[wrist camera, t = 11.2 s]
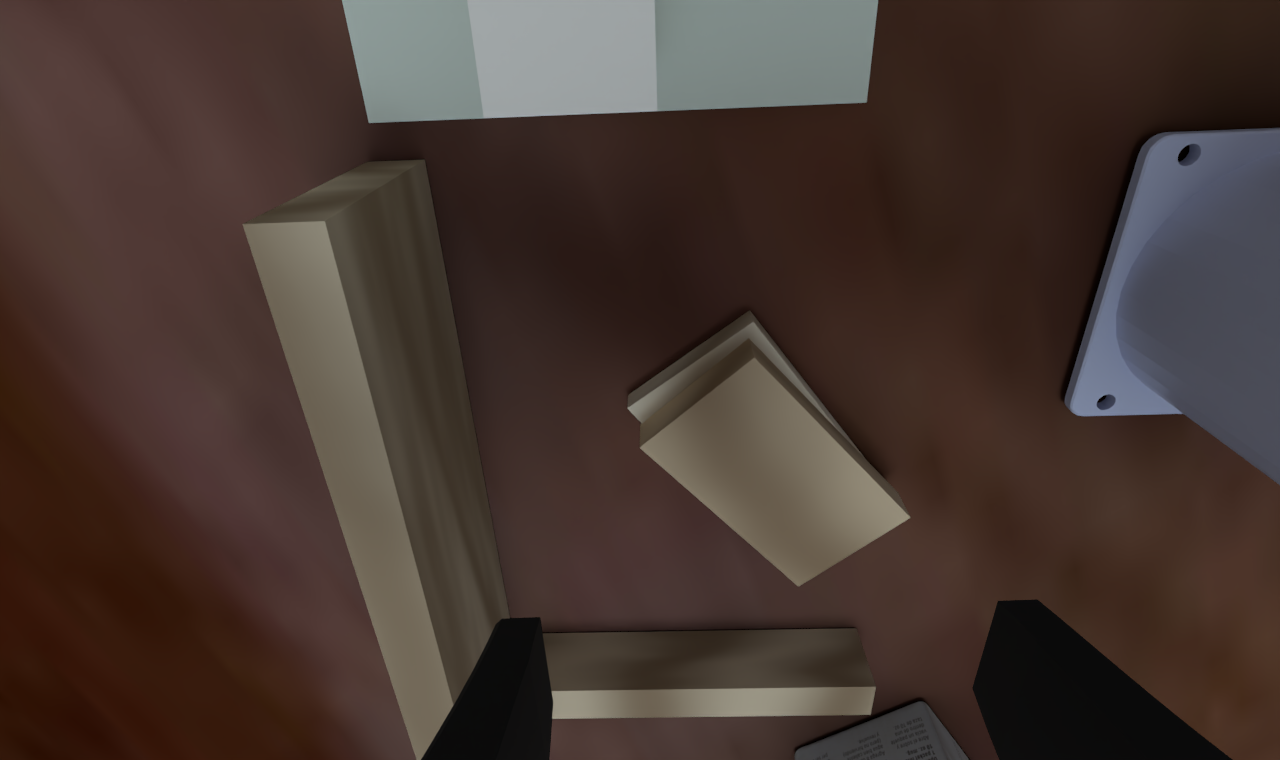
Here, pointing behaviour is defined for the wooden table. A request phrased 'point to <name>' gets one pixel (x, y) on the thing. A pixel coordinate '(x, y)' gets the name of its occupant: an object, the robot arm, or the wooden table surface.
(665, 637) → the corner fence
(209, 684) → the wooden table surface
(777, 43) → the mat
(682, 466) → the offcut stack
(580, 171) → the wooden table surface
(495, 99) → the gray rectangular slab
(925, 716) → the coffee box
